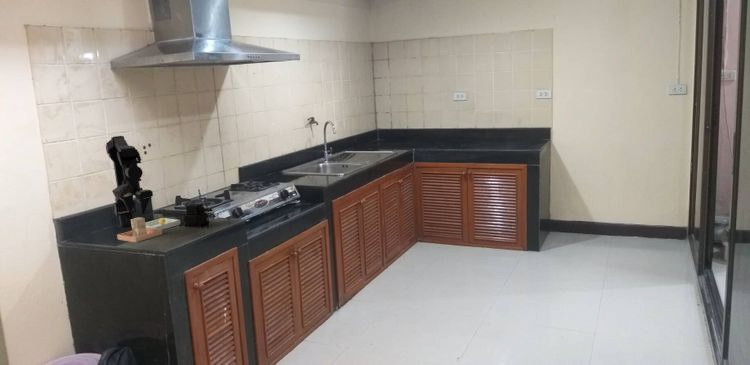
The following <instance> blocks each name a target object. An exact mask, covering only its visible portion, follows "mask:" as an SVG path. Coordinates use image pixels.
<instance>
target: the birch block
mask: <svg viewBox="0 0 750 365" xmlns="http://www.w3.org/2000/svg"><path fill="white" fill-rule="evenodd" d="M145 223H146V218H145V217H141V216H140V217H133V219H131V225H132V226H131V231H133V237H138V236H142V235H145V234H147V231H146V225H145Z"/></svg>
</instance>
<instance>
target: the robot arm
mask: <svg viewBox="0 0 750 365" xmlns="http://www.w3.org/2000/svg"><path fill="white" fill-rule="evenodd" d="M105 144H106V145H105V150H106V151H105V152H106V154H107V155H108V158H109V159H110V160H111V161H112V162H113V168H114V175H115V182H116V187H115V188H114V189H112V191H111V192H112V194H113V195H114V199H115V202H114V208H113V209H114V214H115V216H116V217H118V218H119V225H117V226H116V227H117V228H125V229H126V228H129V227H132V225H131V219H134V216H133V213H137V202H138V205H139V209H140V213H141V215H143V214H145V213H146V210H147V208H148V204H149V202H150V200H151V199H152V197H154V193H153V191H152V190H151V189H143V187H141V184H140V182H141V181H142V176H143V170H142V168H141V167H140V166H138V164H141V163H142V162H141V161H142V157H141V154H140V152H139V151H138V149H137V148H136V147H135V146H133V145H129V144H128V142H127V140H125V136H123V135H117V136H116V135H115V136H111V138H110V140H108V141H107V142H106V143H105ZM134 197H135V199H134ZM135 201H136V202H135Z"/></svg>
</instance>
